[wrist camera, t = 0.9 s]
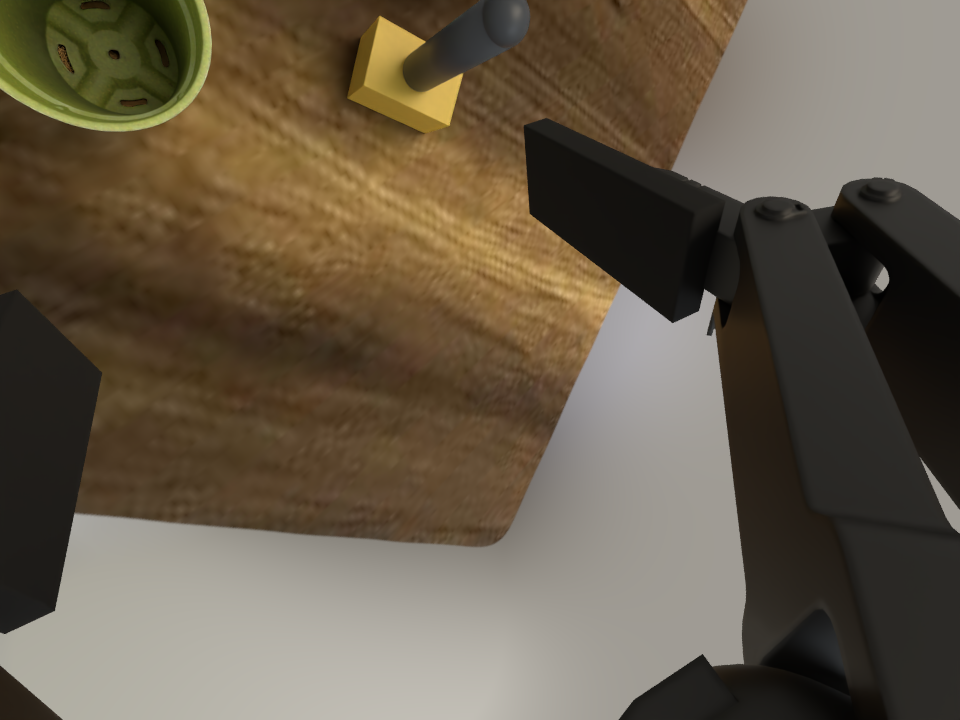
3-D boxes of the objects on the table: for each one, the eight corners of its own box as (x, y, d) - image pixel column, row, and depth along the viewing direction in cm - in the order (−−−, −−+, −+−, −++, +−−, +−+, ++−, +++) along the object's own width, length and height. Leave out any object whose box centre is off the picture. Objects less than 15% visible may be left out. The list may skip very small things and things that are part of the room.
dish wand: (346, 98, 32) (441, 23, 18) (360, 36, 32) (470, -90, 18) (425, 133, 36) (557, 92, 22) (439, 78, 35) (585, -2, 21)
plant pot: (172, -51, 26) (152, -145, 19) (238, 133, 30) (243, 113, 23) (-40, -45, 23) (-161, -156, 16) (65, 161, 27) (7, 148, 20)
